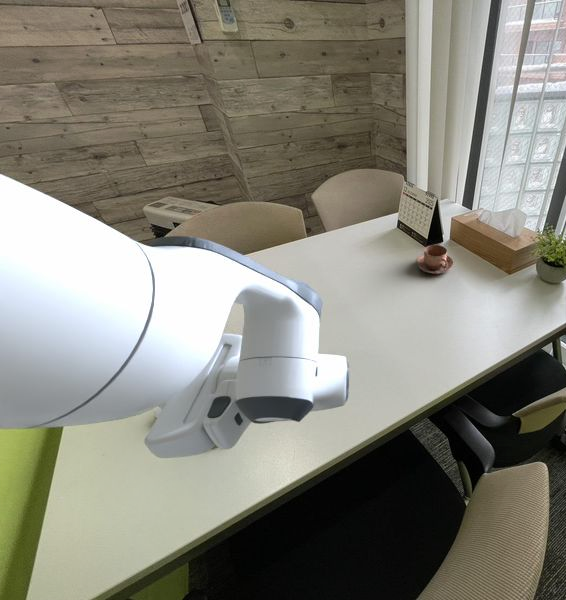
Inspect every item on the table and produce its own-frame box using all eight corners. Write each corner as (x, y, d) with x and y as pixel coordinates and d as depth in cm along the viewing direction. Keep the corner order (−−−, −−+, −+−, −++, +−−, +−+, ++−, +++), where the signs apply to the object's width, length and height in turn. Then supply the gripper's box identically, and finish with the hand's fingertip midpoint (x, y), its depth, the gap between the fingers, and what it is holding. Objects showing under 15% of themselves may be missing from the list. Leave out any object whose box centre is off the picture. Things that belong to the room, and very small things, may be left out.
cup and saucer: (459, 265, 108) (461, 249, 104) (439, 281, 101) (441, 264, 97) (429, 253, 114) (430, 237, 110) (409, 268, 107) (409, 251, 103)
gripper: (258, 323, 56) (176, 326, 55) (209, 437, 40) (93, 442, 39) (268, 348, 60) (191, 351, 59) (226, 461, 44) (122, 466, 43)
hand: (151, 388), depth 49 cm, fingers closed
